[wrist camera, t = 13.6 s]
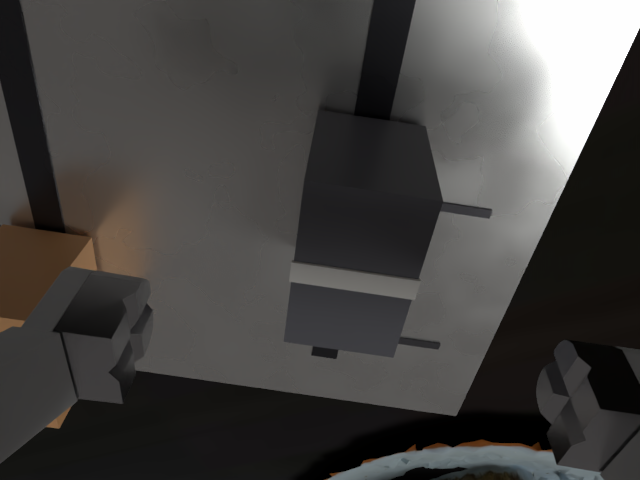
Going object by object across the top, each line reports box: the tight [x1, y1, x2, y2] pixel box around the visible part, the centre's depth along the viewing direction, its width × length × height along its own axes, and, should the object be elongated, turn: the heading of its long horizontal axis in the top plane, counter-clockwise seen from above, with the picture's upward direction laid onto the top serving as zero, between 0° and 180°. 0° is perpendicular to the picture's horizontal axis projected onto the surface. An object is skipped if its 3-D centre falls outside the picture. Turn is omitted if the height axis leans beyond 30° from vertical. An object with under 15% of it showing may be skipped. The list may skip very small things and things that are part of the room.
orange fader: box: [0, 224, 97, 428], centre depth 17 cm, size 5×3×4 cm, turn 173°
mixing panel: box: [0, 0, 640, 416], centre depth 17 cm, size 20×22×3 cm
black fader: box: [284, 110, 443, 358], centre depth 14 cm, size 5×3×4 cm, turn 173°
